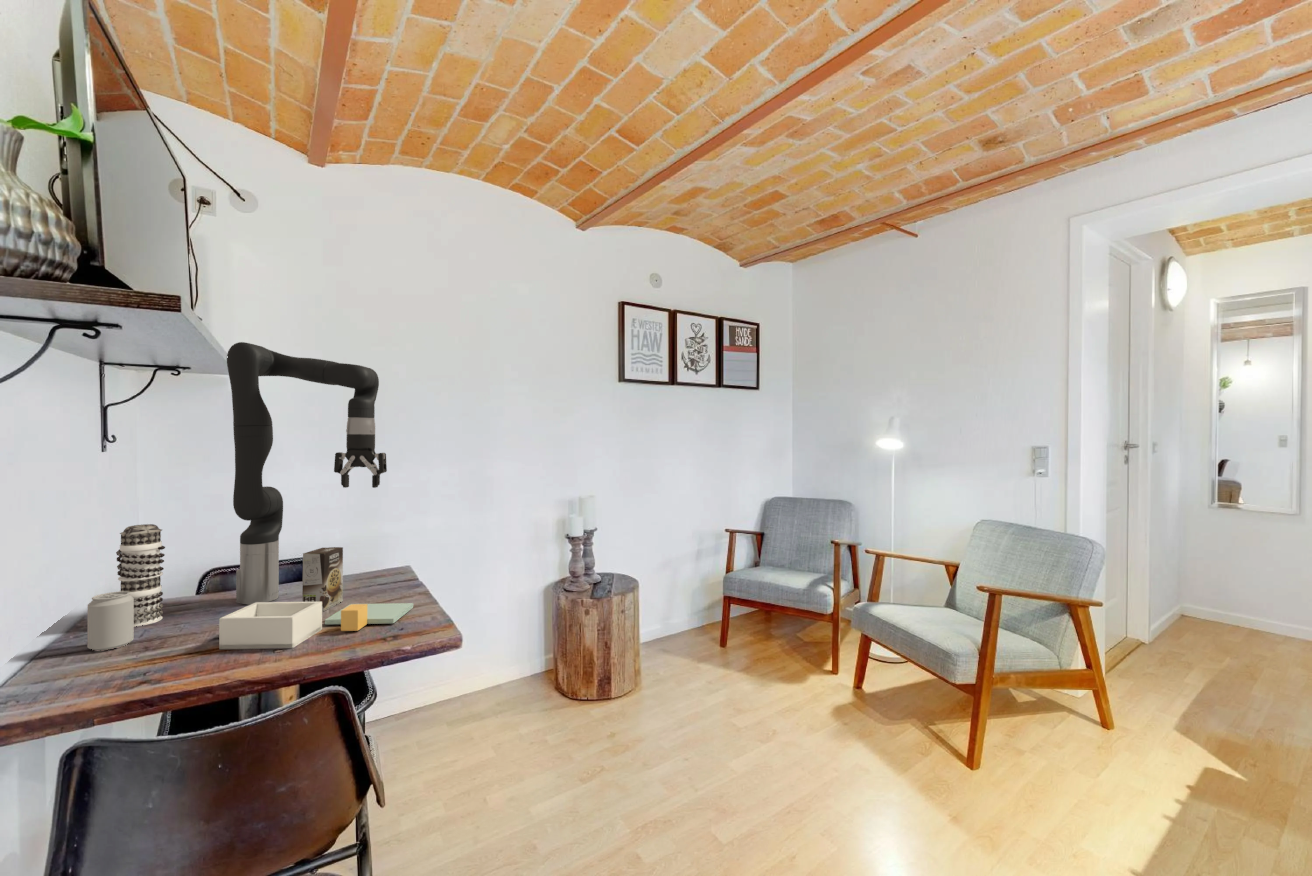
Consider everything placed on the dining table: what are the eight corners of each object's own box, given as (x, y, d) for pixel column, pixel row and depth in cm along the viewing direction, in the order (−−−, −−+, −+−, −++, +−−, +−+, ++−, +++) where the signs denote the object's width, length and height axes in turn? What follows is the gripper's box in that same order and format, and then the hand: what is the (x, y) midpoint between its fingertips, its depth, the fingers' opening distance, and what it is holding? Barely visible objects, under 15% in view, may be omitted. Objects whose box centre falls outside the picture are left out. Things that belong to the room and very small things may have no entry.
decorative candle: (141, 615, 146) (141, 522, 146) (174, 616, 145) (174, 523, 145) (105, 627, 136) (105, 528, 136) (140, 628, 136) (140, 528, 136)
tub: (219, 649, 123) (219, 618, 123) (255, 630, 135) (255, 602, 135) (292, 648, 124) (292, 617, 124) (322, 629, 136) (322, 601, 136)
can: (104, 654, 120) (104, 600, 120) (78, 651, 121) (78, 598, 121) (142, 641, 127) (142, 590, 127) (117, 639, 129) (117, 588, 129)
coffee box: (324, 611, 149) (324, 553, 149) (301, 611, 149) (301, 553, 149) (343, 601, 159) (344, 546, 158) (322, 601, 159) (322, 546, 159)
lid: (313, 634, 133) (313, 611, 133) (350, 611, 151) (350, 590, 151) (384, 633, 134) (384, 610, 134) (413, 610, 152) (413, 589, 152)
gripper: (391, 433, 166) (390, 486, 166) (343, 432, 165) (342, 486, 165) (379, 433, 158) (378, 488, 158) (329, 432, 158) (328, 488, 158)
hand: (360, 487), depth 162 cm, fingers open, 8 cm apart
